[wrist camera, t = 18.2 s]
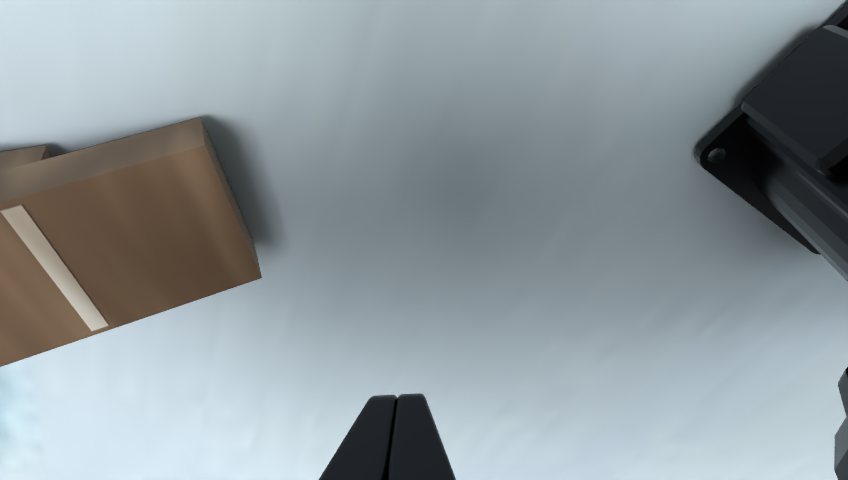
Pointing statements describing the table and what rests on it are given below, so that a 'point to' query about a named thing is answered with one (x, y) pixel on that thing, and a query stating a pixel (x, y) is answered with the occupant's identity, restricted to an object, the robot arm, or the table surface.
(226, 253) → the tile
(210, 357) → the table surface
